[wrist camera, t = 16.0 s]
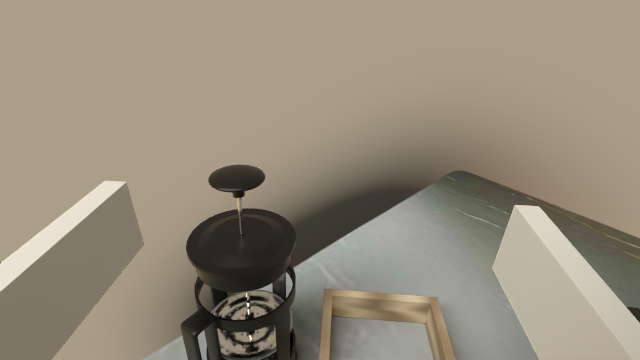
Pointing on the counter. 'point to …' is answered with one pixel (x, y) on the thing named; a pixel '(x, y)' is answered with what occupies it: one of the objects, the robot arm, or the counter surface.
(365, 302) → the wooden frame
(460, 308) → the counter surface
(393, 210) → the counter surface
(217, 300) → the french press
